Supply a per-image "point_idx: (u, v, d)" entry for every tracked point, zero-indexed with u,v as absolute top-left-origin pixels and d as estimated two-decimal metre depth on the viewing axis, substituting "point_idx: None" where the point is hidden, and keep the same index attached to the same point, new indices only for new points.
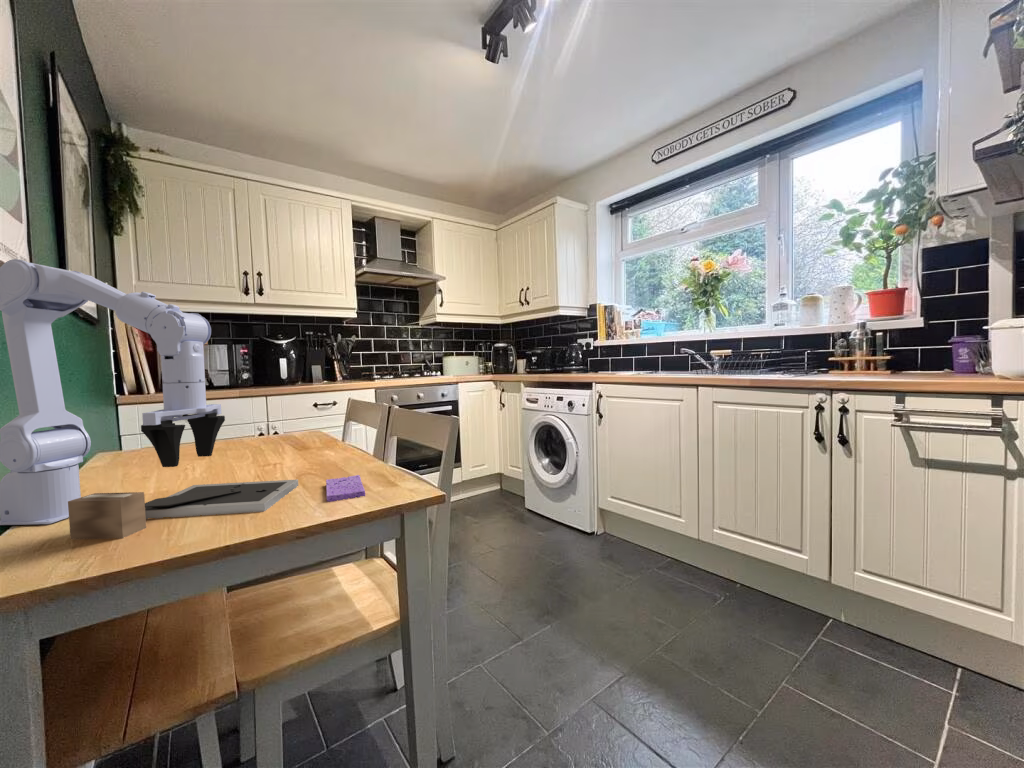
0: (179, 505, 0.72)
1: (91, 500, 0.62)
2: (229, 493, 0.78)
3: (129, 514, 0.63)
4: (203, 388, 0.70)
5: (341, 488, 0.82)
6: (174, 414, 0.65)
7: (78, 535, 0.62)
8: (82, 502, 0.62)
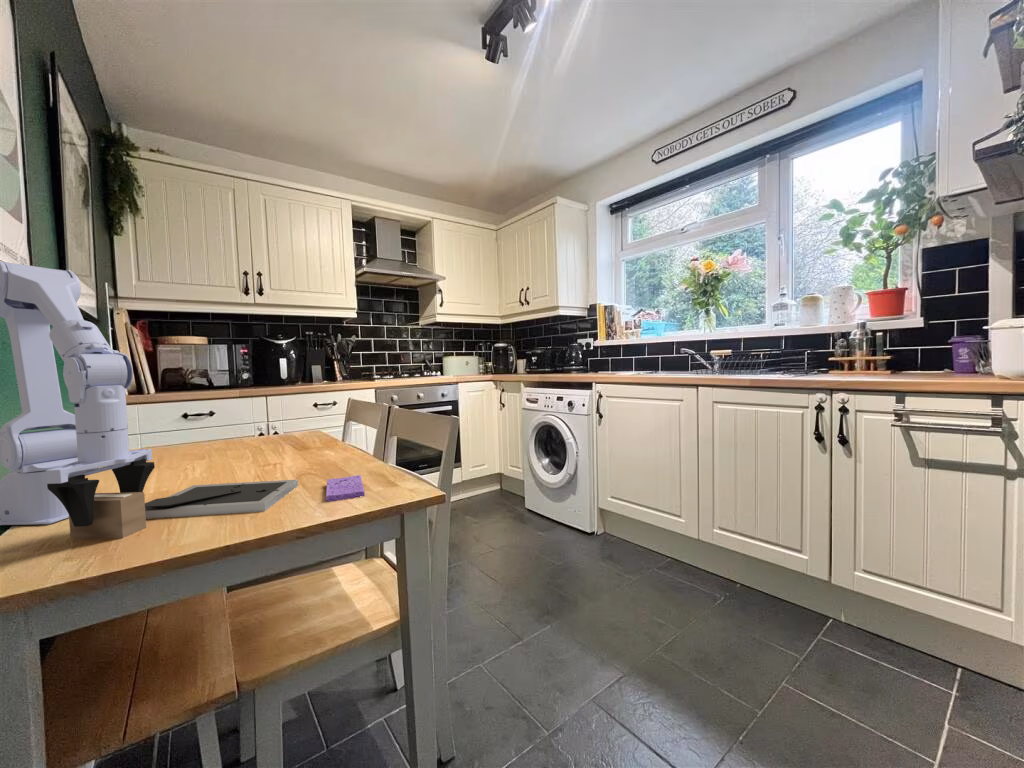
0: (179, 505, 0.72)
1: None
2: (229, 493, 0.78)
3: (129, 514, 0.63)
4: (124, 436, 0.64)
5: (341, 488, 0.82)
6: (86, 468, 0.59)
7: (78, 535, 0.62)
8: None
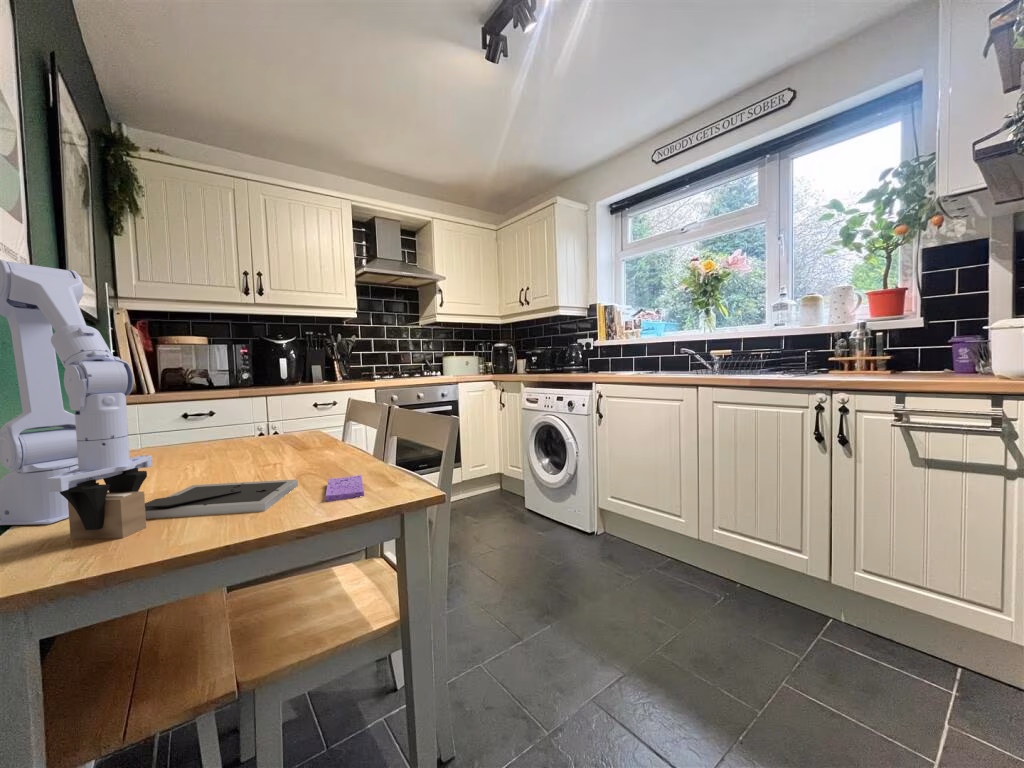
0: (179, 505, 0.72)
1: None
2: (229, 493, 0.78)
3: (129, 513, 0.63)
4: (125, 443, 0.64)
5: (341, 488, 0.82)
6: (86, 476, 0.59)
7: (78, 534, 0.62)
8: None
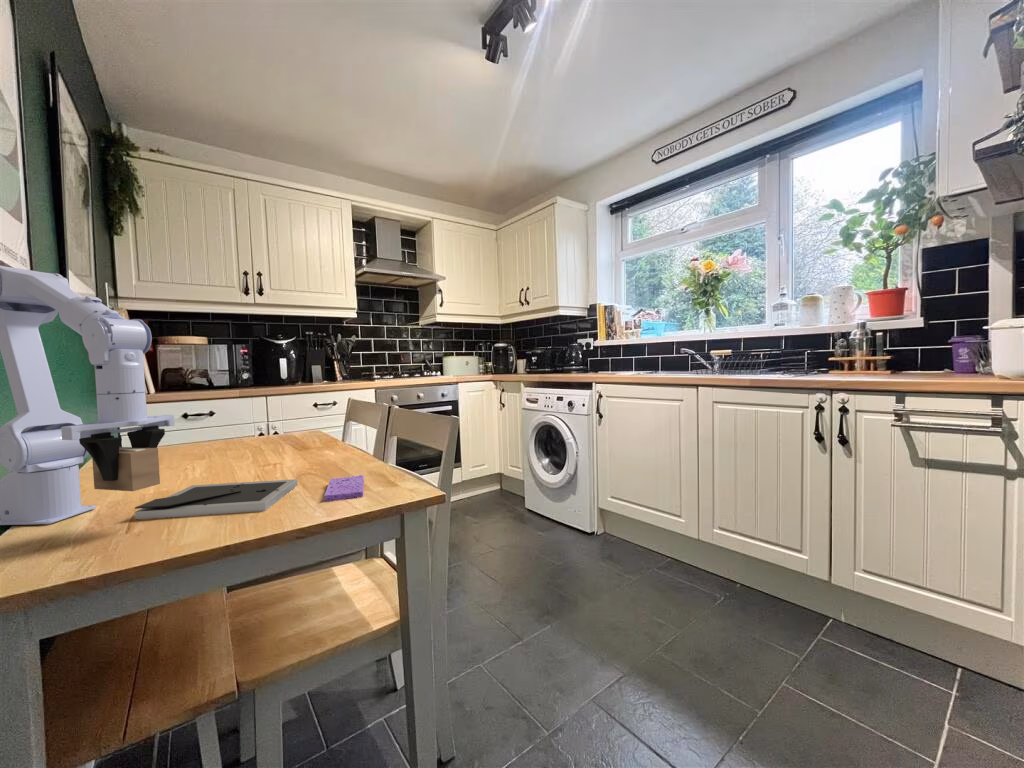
0: (179, 505, 0.72)
1: None
2: (229, 493, 0.78)
3: (140, 468, 0.65)
4: (139, 399, 0.66)
5: (341, 488, 0.82)
6: (98, 428, 0.61)
7: (99, 484, 0.65)
8: None
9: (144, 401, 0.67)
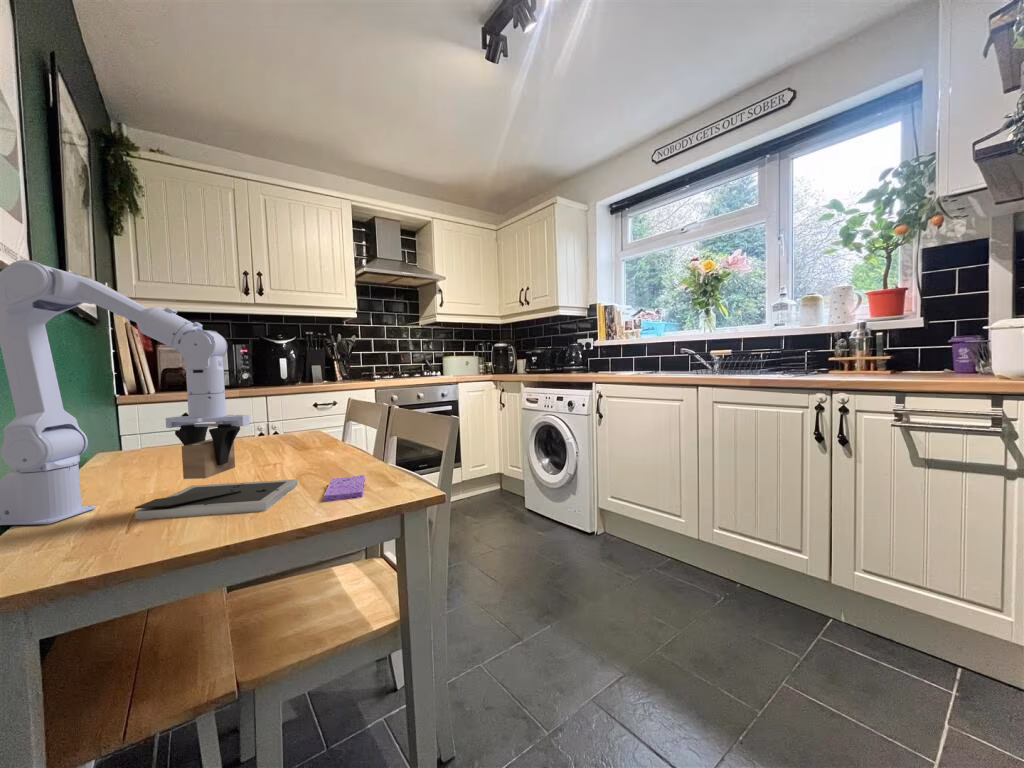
0: (179, 505, 0.72)
1: (202, 441, 0.78)
2: (229, 493, 0.78)
3: (189, 460, 0.74)
4: (198, 400, 0.75)
5: (341, 488, 0.82)
6: (178, 421, 0.76)
7: None
8: (205, 441, 0.79)
9: (206, 402, 0.75)
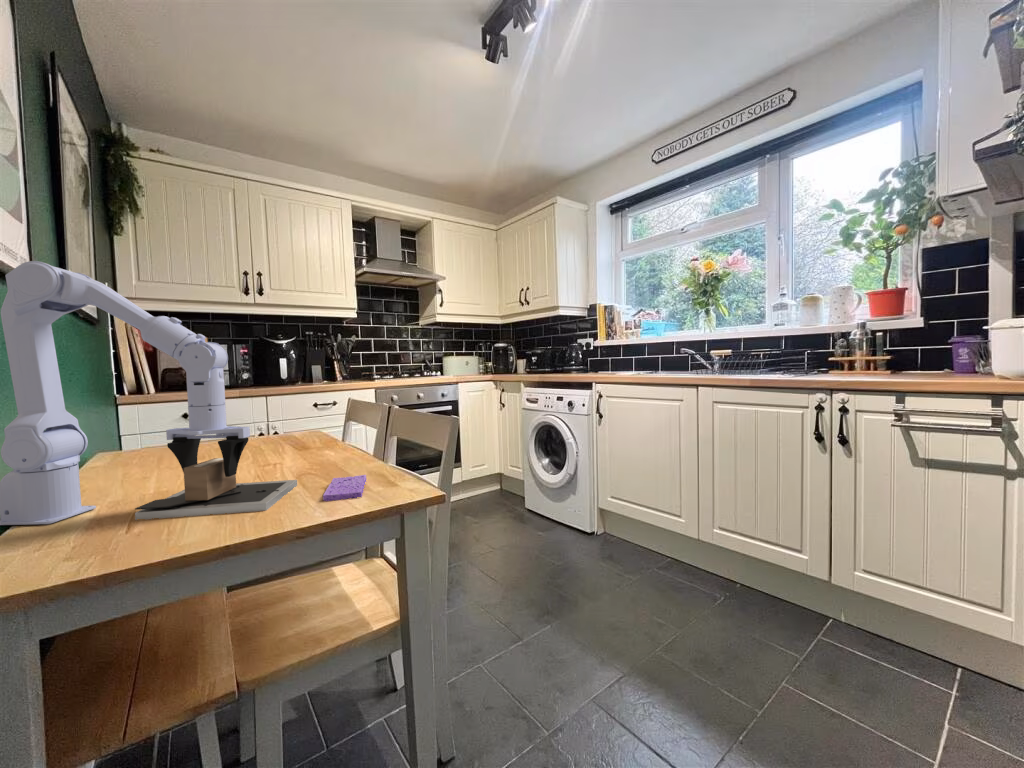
0: (179, 506, 0.72)
1: (204, 462, 0.78)
2: (229, 494, 0.78)
3: (191, 482, 0.74)
4: (199, 412, 0.75)
5: (341, 488, 0.82)
6: (178, 433, 0.76)
7: None
8: (206, 461, 0.80)
9: (206, 414, 0.75)
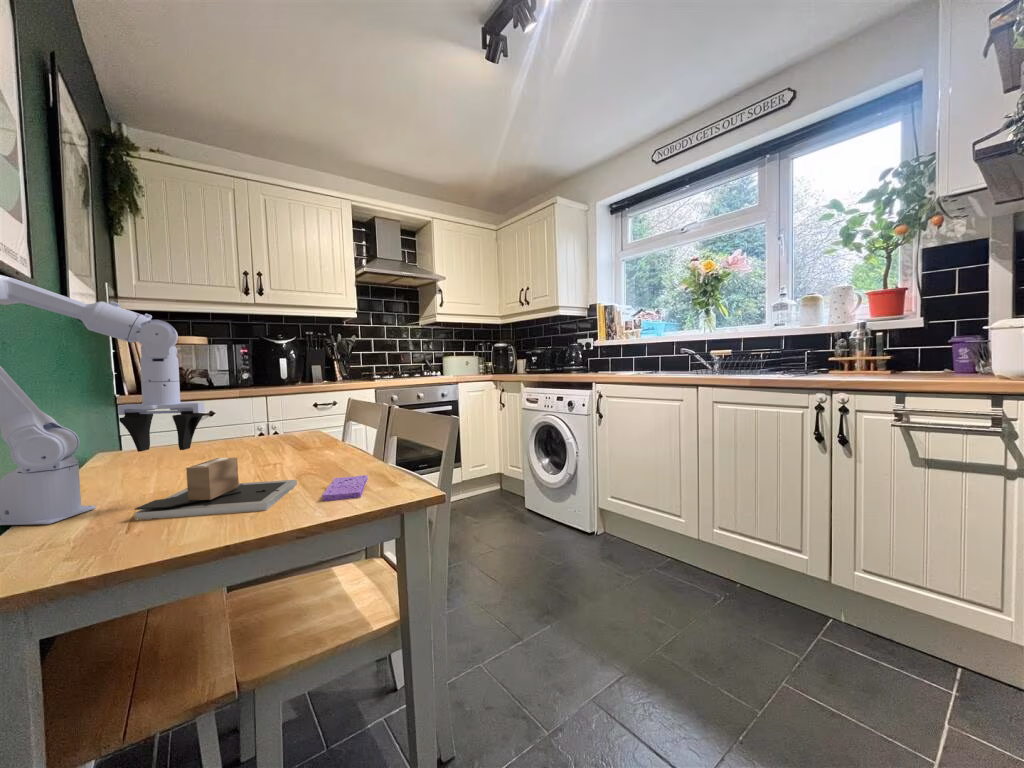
0: (179, 506, 0.72)
1: (206, 461, 0.79)
2: (229, 494, 0.78)
3: (194, 482, 0.74)
4: (153, 387, 0.78)
5: (341, 488, 0.82)
6: (131, 408, 0.78)
7: None
8: (208, 461, 0.80)
9: (161, 389, 0.78)
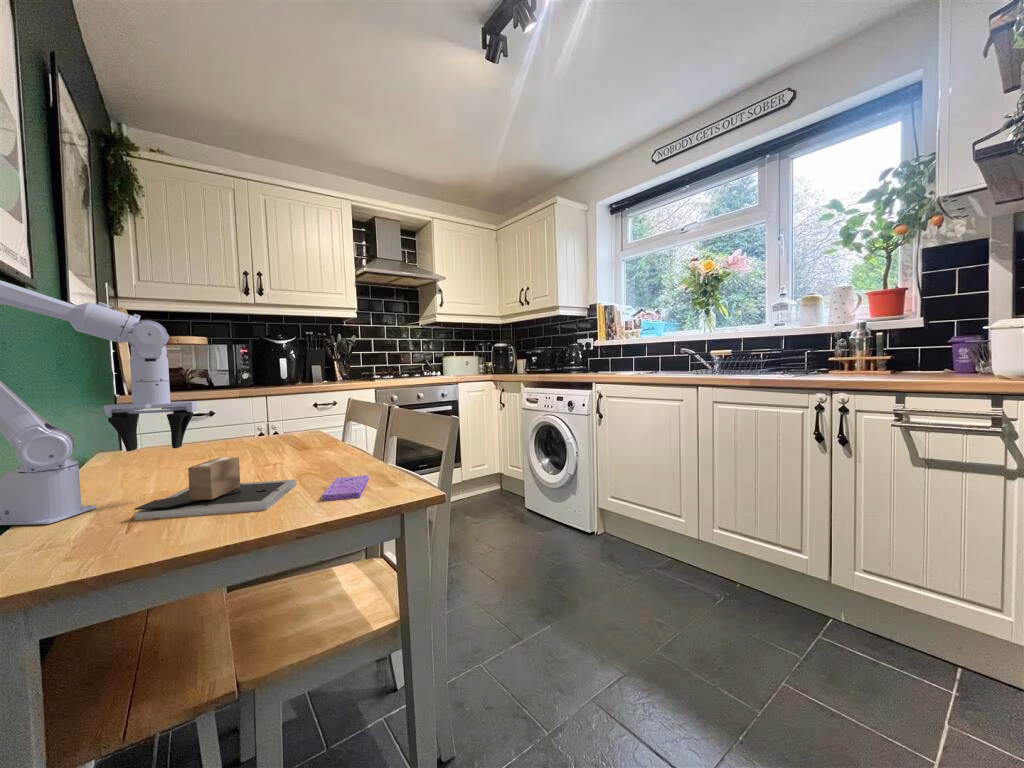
0: (179, 506, 0.72)
1: (208, 461, 0.79)
2: (229, 494, 0.78)
3: (195, 482, 0.74)
4: (146, 387, 0.79)
5: (341, 488, 0.82)
6: (120, 408, 0.79)
7: None
8: (210, 461, 0.80)
9: (153, 389, 0.79)
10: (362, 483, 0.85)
